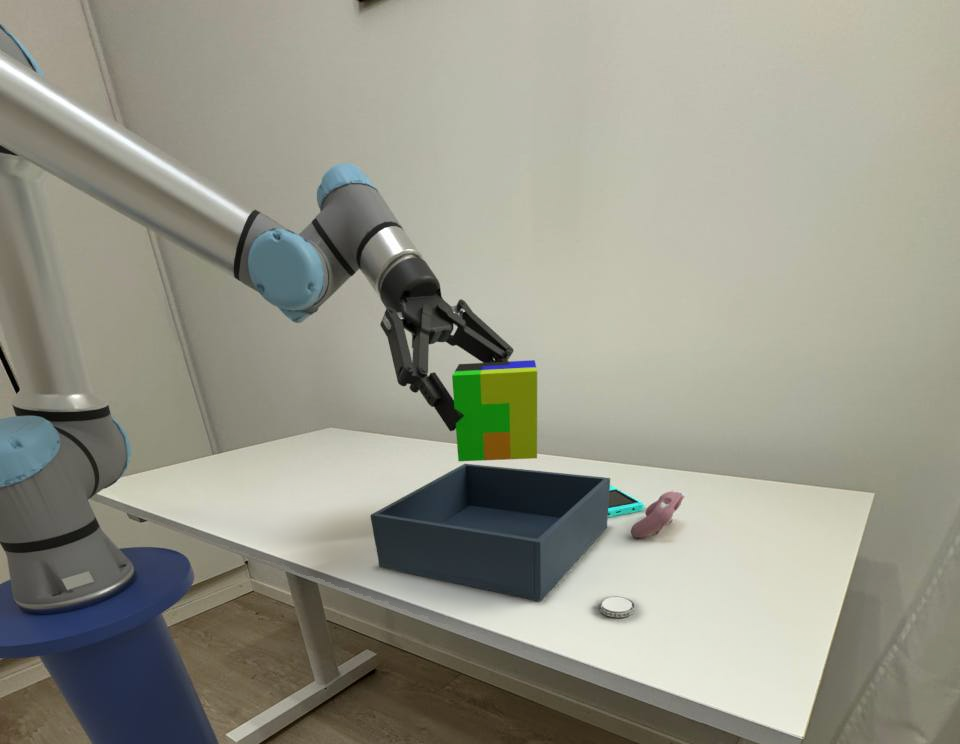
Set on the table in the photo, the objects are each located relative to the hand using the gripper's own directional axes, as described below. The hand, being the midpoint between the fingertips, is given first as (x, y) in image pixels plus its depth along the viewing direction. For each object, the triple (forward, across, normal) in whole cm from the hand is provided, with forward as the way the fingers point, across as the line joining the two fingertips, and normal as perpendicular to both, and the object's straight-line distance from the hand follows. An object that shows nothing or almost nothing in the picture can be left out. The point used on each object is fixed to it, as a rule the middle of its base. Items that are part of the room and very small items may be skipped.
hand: (492, 413), depth 72 cm
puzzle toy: (+4, 0, -3) cm, 5 cm away
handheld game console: (+14, -26, -14) cm, 33 cm away
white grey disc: (+30, +4, +2) cm, 30 cm away
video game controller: (+24, -21, -4) cm, 32 cm away
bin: (+13, -1, -14) cm, 20 cm away
